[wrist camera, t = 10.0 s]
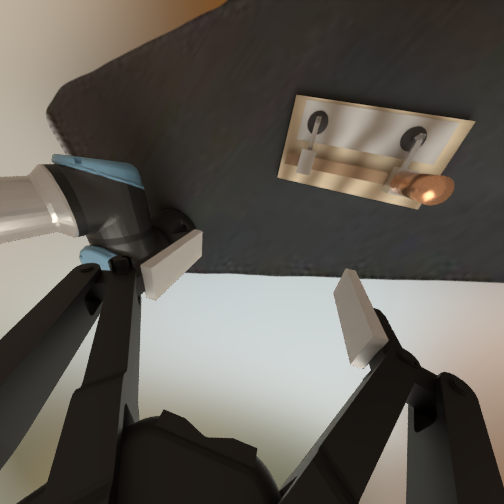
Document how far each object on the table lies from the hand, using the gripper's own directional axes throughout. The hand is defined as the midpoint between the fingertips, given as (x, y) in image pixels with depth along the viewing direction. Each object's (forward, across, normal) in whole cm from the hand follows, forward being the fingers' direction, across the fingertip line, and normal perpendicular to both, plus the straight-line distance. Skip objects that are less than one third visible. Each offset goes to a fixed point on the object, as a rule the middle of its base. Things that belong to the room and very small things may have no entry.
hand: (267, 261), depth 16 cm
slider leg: (+26, +18, +10) cm, 33 cm away
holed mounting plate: (+29, +11, +11) cm, 33 cm away
